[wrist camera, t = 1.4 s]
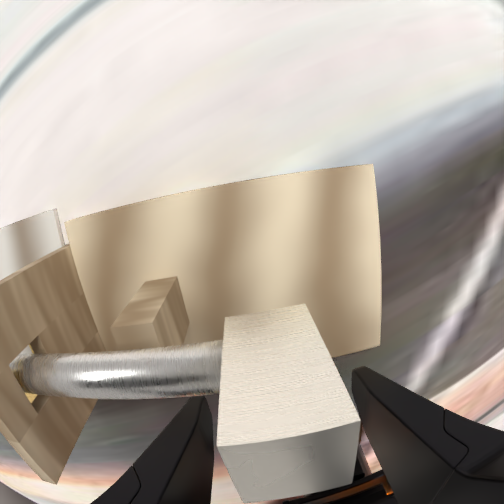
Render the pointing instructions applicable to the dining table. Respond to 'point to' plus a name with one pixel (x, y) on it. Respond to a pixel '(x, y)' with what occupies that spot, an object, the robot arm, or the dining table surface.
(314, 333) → the shaft
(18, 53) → the dining table surface
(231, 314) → the wooden latch stand
